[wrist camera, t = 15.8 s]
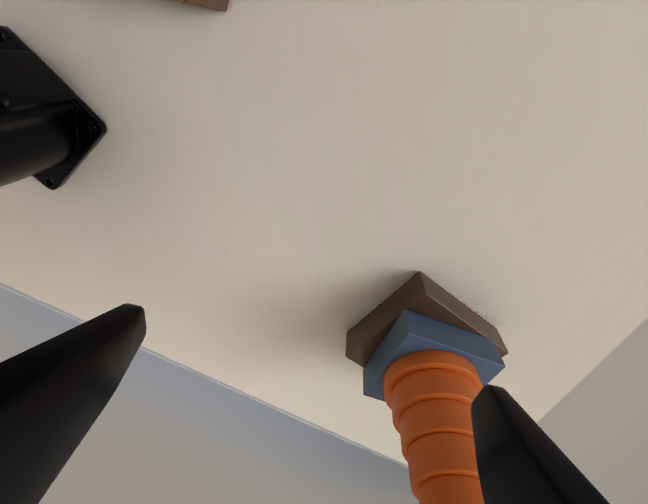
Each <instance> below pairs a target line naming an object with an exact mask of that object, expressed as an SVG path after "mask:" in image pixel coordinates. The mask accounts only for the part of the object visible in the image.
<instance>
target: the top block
mask: <svg viewBox="0 0 648 504" xmlns="http://www.w3.org/2000/svg"><path fill="white" fill-rule="evenodd" d="M427 350H439V351H446V352H451V353H454V354H457V355H459V356H461V357H463V358H465V359H466V360H468V361H469V362H470V363H471V364H472V365H473V366H474V367H475V368H476V370H477V372H478V375H479V378H480V380H481V383H482V386H483V387H484V386H485V385H487V384H488V383H489V382H490V381H491V380H492V379H493V378H494V377H495V376H496V375H497V374H498V373H499V372H500V371H501V370H503V369H504V368H505V364H504V362H503V360H502V358H501V356H500V353H499V351H498V349H497V347H496V345H495V343H494V341H493V340H491V339H489V338H486V337H483V336H480V335H477V334H474V333H472V332H469V331H466V330H463V329H460V328H457V327H455V326H452V325H449V324H446V323H443V322H440V321H438V320H435V319H432V318H429V317H426V316H423V315H421V314H418V313H415V312H412V311H409V310H406V309H403V311H402V312H401V314H400V315H399V317H398V318H397V320H396V321H395V323H394V324H393V326H392V327H391V329H390V330H389V332H388V333H387V335H386V336H385V338H384V339H383V341H382V342H381V344H380V345H379V346H378V348H377V349H376V351H375V352H374V354H373V355H372V357H371V358H370V360H369V361H368V363H367V364H366V366H365V367H364V369H363V394H364V395H366V396H369V397H372V398H375V399H378V400H382V401H385V398H384V387H383V378H384V375H385V373H386V371H387V369H388V368H389V367H390V365H392V364H393V363H394V362H395V361H396V360H398V359H400V358H401V357H403V356H406V355H408V354H411V353H415V352H419V351H427ZM385 402H386V401H385Z"/></svg>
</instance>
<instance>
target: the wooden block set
mask: <svg viewBox="0 0 648 504" xmlns="http://www.w3.org/2000/svg"><path fill="white" fill-rule="evenodd" d="M176 1H180V2H185V3H189V4H193V5H198V6H202V7H207V8H211V9H216V10H220V11H227V7H228V2H229V0H176Z"/></svg>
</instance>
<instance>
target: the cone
mask: <svg viewBox="0 0 648 504" xmlns="http://www.w3.org/2000/svg"><path fill="white" fill-rule="evenodd" d="M383 387H384V398H385V401H386V403H387V405H388V406H389V407H390V409H391V410H392V418H393V424H394V426H395V428H396V430H397V431H398V432H399V433H400V437H401V446H402V453H403V456H404V458H405V459H406V460H407V462H408V466H409V475H410V482H411V490H412V493H413V495H414V496H415V497H416V498H417V499H418V500H419V504H484V500H483V495H482V491H481V486H480V481H479V476H478V470H477V463H476V454H475V446H474V437H473V429H472V420H471V404H472V401H473V400H474V398H475V397H476V396H477V395H478V393H479V392H480V391H481V389H482V388H483V386H482V383H481V380H480V378H479V375H478V372H477V370H476V368H475V367H474V366H473V365H472V364H471V363H470V362H469V361H468V360H466V359H465V358H463V357H461V356H459V355H457V354H454V353H451V352H446V351H439V350H427V351H419V352H415V353H411V354H408V355H406V356H403V357H401V358H400V359H398V360H396V361H395V362H394V363H393V364H392V365H390V367H389V368H388V369H387V371H386V373H385V375H384V378H383Z"/></svg>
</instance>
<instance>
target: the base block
mask: <svg viewBox="0 0 648 504" xmlns="http://www.w3.org/2000/svg"><path fill="white" fill-rule="evenodd" d="M403 309H406V310H409V311H412V312H415V313H418V314H421V315H423V316H426V317H429V318H432V319H435V320H438V321H440V322H443V323H446V324H449V325H452V326H455V327H457V328H460V329H463V330H466V331H469V332H472V333H474V334H477V335H480V336H483V337H486V338H489V339H491V340H493V341H494V343H495V345H496V347H497V349H498V351H499V353H500V356H501V357H503V356H505V355H507V354H508V350H507V348H506V347H505V345H504V343H503V341H502V339H501V337H500V335H499V333H498V331H497V329H496V328H495V327H494V326H492V325H491V324H490V323H488V322H487V321H486V320H484V319H483V318H482V317H480V316H479V315H478V314H476V313H475V312H474V311H472V310H471V309H470V308H468V307H467V306H466V305H464V304H463V303H462V302H460V301H459V300H458V299H456V298H455V297H454V296H452V295H451V294H450V293H448V292H447V291H446V290H444V289H443V288H442V287H440V286H439V285H438V284H436V283H435V282H434V281H432V280H431V279H430V278H428V277H427V276H426V275H424V274H423V273H422V272H418V273H417V274H416V275H415V276H414V277H413V278H411V279H410V280H409V281H408V282H407V283H405V284H404V285H403V286H402V287H401V288H400V289H398V290H397V291H396V292H395V293H394V294H392V295H391V296H390V297H389V298H388V299H387V300H385V301H384V302H383V303H382V304H381V305H379V306H378V307H377V308H376V309H375V310H374V311H372V312H371V313H370V314H369V315H368V316H366V317H365V318H364V319H363V320H362V321H361V322H359V323H358V324H357V325H356V326H355V327H354V328H352V329H351V330H350V331H349V332H348V333H347V337H346V357H347V358H349V359H350V360H352V361H354V362H355V363H357V364H359V365H360V366H362V367H365V366H366V364H367V363H368V361H369V360H370V358H371V357H372V355H373V354H374V352H375V351H376V349H377V348H378V346H379V345H380V344H381V342H382V341H383V339H384V338H385V336H386V335H387V333H388V332H389V330H390V329H391V327H392V326H393V324H394V323H395V321H396V320H397V318H398V317H399V315H400V314H401V312H402V311H403Z"/></svg>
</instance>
